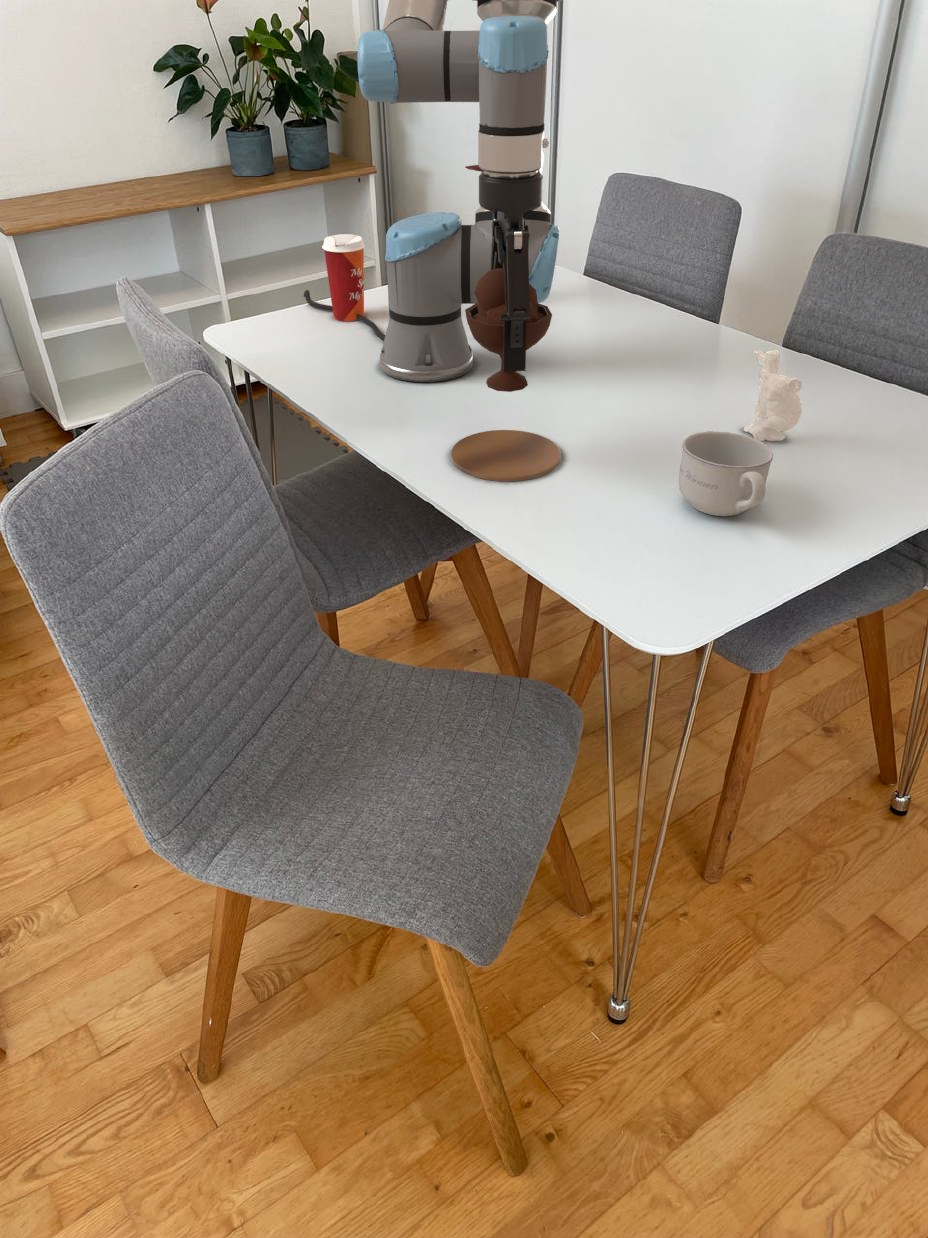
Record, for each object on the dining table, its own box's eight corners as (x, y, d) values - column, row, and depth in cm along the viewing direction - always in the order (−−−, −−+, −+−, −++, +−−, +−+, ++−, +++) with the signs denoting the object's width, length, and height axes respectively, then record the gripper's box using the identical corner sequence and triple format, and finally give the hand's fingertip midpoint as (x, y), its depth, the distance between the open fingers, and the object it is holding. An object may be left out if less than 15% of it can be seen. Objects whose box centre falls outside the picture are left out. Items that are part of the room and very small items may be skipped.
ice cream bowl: (543, 402, 127) (548, 281, 118) (457, 396, 129) (455, 277, 120) (554, 371, 135) (559, 257, 127) (473, 366, 137) (472, 253, 129)
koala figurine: (728, 430, 145) (740, 348, 138) (765, 421, 147) (779, 341, 140) (766, 453, 138) (781, 369, 131) (804, 443, 141) (821, 360, 134)
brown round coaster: (428, 460, 137) (428, 456, 137) (496, 424, 147) (496, 420, 146) (516, 492, 129) (516, 488, 129) (581, 452, 139) (582, 448, 139)
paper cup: (367, 323, 184) (362, 244, 176) (325, 323, 184) (318, 244, 176) (371, 309, 190) (366, 232, 182) (330, 309, 191) (324, 232, 183)
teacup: (665, 486, 130) (672, 429, 126) (747, 482, 131) (757, 425, 126) (695, 541, 119) (703, 480, 114) (784, 536, 120) (796, 476, 115)
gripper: (560, 192, 108) (552, 386, 120) (527, 151, 127) (523, 322, 140) (491, 194, 107) (489, 389, 120) (468, 152, 127) (469, 324, 139)
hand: (507, 353), depth 130 cm, fingers closed on ice cream bowl, 11 cm apart
